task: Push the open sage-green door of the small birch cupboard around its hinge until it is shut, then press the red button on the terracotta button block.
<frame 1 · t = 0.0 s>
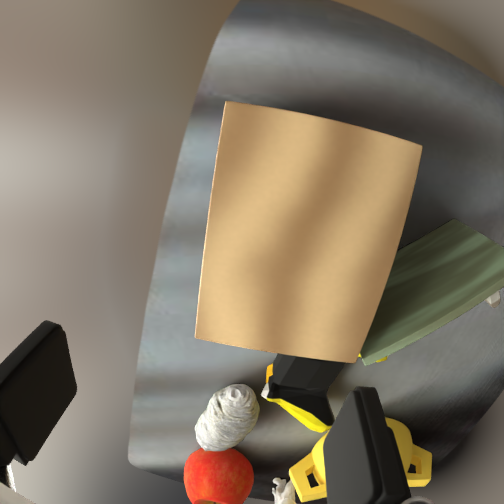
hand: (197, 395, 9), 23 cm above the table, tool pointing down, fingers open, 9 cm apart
teapot: (359, 440, 41), on the table
apple: (221, 456, 44), on the table
seashell: (228, 406, 39), on the table
door: (429, 301, 25), point 6 cm above the table, hinge at 50.0°
black and yellow shoe: (316, 357, 36), on the table
cupboard: (292, 204, 30), on the table
figurine: (282, 475, 45), on the table
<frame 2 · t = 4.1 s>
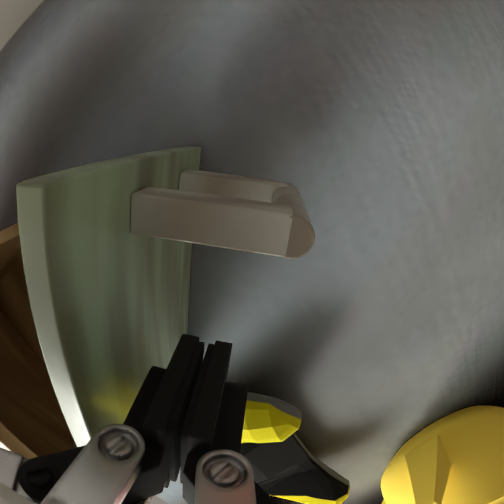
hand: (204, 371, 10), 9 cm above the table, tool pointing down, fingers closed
teapot: (445, 445, 24), on the table
door: (205, 345, 13), point 6 cm above the table, hinge at 46.1°, touching gripper
black and yellow shoe: (267, 432, 24), on the table
cupboard: (66, 329, 21), on the table
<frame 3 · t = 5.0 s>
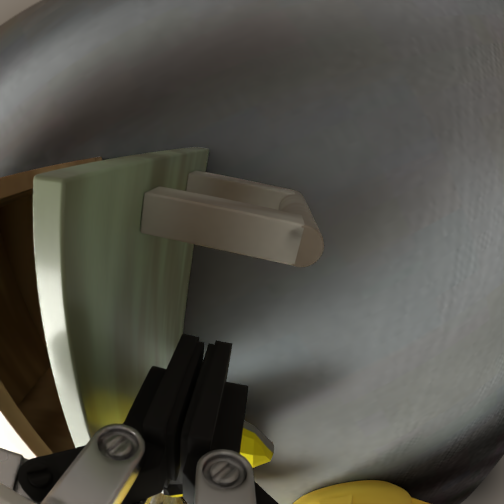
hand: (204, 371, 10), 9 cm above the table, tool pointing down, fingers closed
teapot: (344, 502, 28), on the table
seashell: (165, 489, 29), on the table
door: (204, 347, 13), point 6 cm above the table, hinge at 21.7°, touching gripper
black and yellow shoe: (213, 443, 24), on the table
cupboard: (67, 281, 20), on the table
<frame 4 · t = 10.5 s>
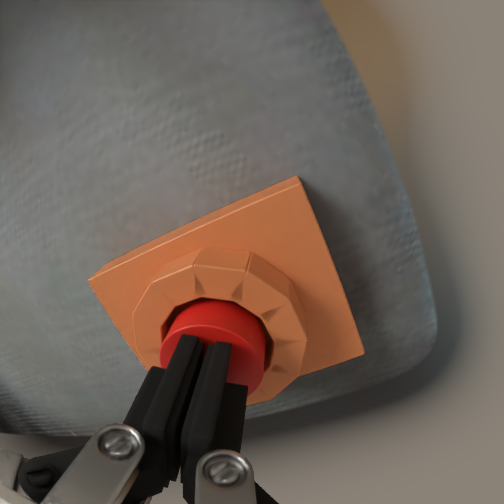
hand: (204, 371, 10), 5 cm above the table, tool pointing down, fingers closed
button: (214, 353, 11), point 4 cm above the table, slide at -0.1 cm, touching gripper
button block: (230, 297, 15), on the table
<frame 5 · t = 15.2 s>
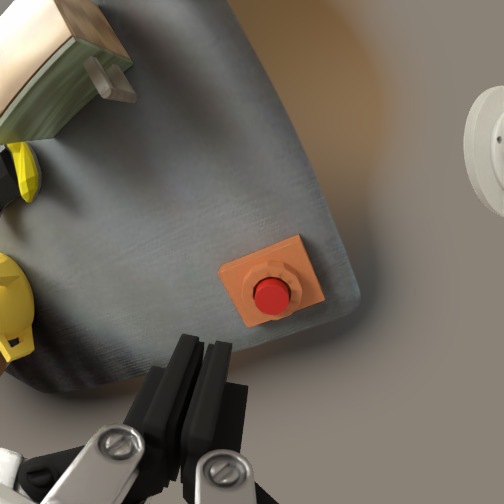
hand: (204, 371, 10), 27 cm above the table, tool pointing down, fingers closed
button: (272, 296, 34), point 4 cm above the table, slide at 0.1 cm
teapot: (9, 287, 43), on the table
coffee cup: (4, 346, 49), on the table
button block: (272, 279, 39), on the table
door: (67, 113, 27), point 6 cm above the table, hinge at -0.9°
black and yellow shoe: (17, 179, 37), on the table
cupboard: (70, 66, 31), on the table
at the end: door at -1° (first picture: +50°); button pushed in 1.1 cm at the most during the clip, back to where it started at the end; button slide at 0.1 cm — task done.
